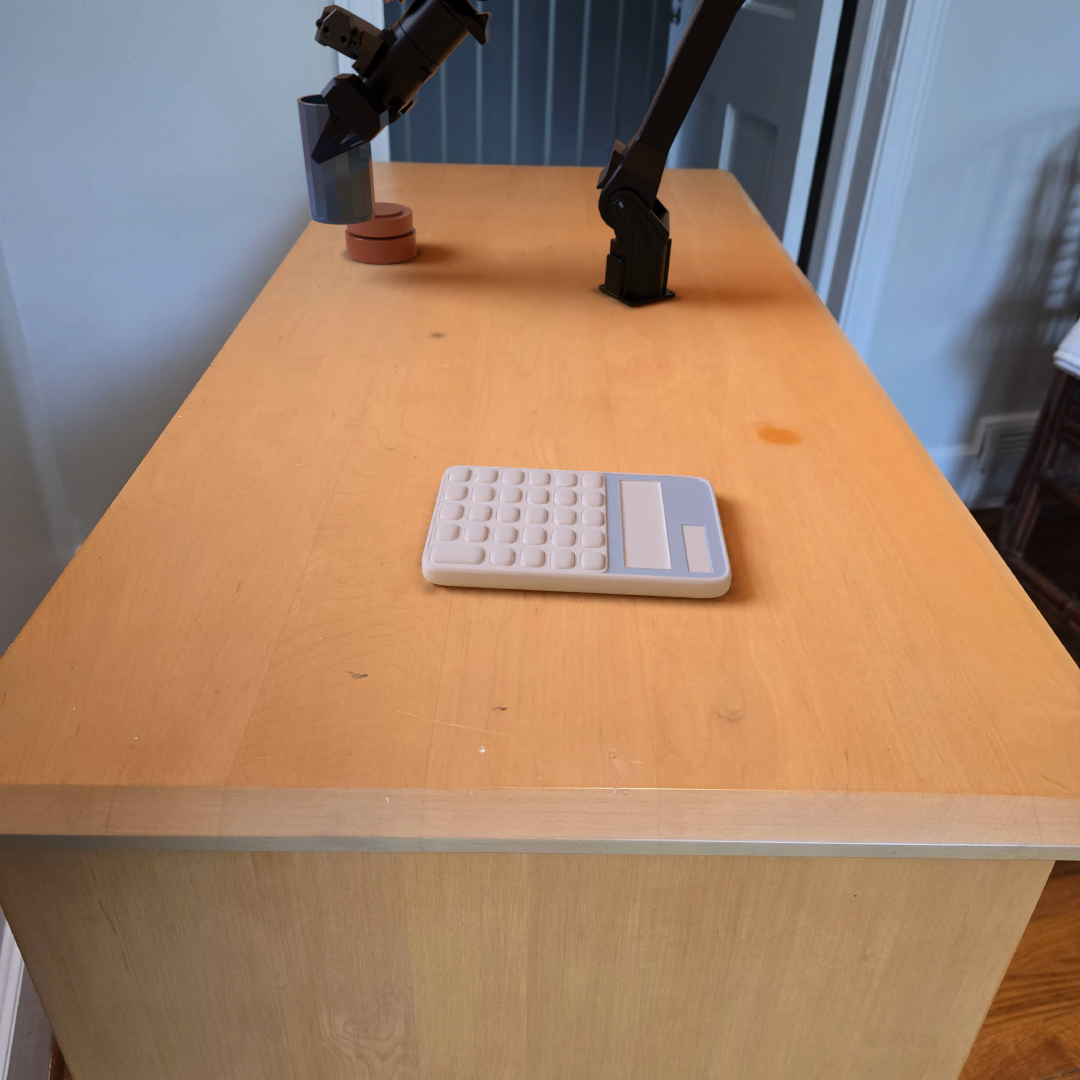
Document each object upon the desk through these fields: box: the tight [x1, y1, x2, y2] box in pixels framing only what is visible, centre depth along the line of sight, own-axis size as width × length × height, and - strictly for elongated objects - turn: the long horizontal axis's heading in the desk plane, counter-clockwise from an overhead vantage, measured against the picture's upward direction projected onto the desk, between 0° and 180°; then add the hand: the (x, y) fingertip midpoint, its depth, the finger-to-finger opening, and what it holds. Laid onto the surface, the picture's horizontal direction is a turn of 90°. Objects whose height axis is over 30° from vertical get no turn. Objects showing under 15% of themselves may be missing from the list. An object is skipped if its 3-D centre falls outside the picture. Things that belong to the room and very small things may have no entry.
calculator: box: [421, 464, 733, 599], centre depth 64 cm, size 13×20×2 cm, turn 88°
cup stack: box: [344, 201, 418, 265], centre depth 114 cm, size 9×9×5 cm
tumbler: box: [296, 93, 376, 226], centre depth 101 cm, size 7×7×12 cm
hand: (325, 152), depth 101 cm, fingers closed on tumbler, 7 cm apart
